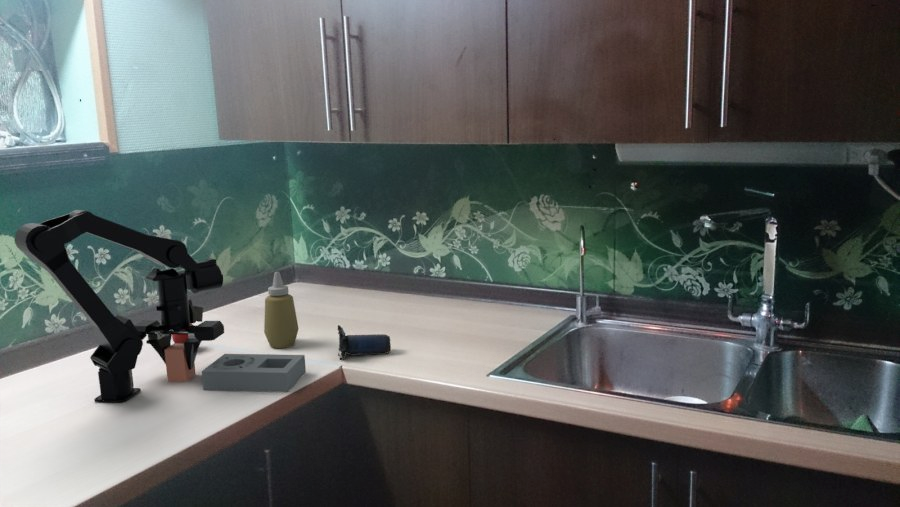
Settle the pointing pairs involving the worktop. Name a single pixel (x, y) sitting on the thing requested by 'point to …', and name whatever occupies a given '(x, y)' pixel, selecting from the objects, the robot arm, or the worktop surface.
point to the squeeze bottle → (280, 315)
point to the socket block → (254, 372)
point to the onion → (180, 338)
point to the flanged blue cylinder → (362, 344)
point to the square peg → (177, 364)
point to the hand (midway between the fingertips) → (180, 368)
